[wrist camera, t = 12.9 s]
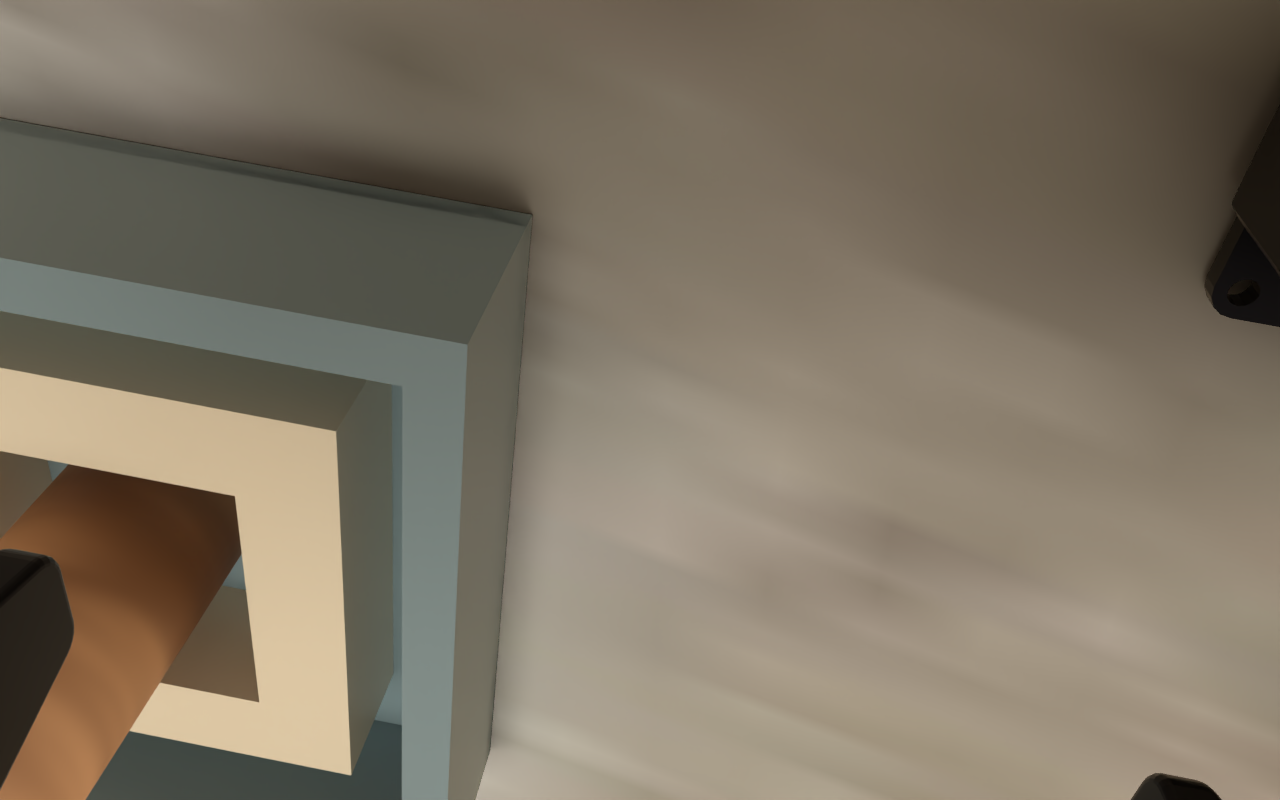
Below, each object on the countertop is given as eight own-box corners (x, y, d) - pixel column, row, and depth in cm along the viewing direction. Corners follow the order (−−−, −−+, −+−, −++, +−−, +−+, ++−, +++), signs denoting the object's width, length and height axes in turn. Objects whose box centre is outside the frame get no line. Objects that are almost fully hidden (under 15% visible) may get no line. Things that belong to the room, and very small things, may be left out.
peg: (257, 431, 23) (-5, 798, 16) (270, 565, 25) (47, 937, 18) (76, 396, 23) (-265, 743, 16) (105, 532, 26) (-181, 889, 18)
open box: (532, 214, 20) (467, 345, 16) (490, 750, 29) (443, 908, 26) (-249, 72, 20) (-483, 167, 17) (-46, 642, 30) (-166, 784, 26)
